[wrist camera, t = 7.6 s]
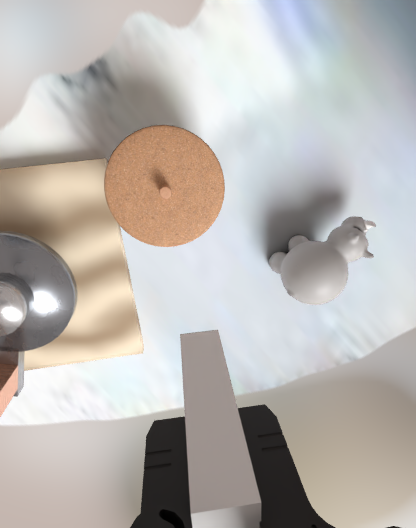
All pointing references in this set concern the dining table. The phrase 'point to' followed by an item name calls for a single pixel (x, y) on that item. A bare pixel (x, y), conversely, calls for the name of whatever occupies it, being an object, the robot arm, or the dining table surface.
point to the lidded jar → (164, 185)
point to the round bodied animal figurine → (322, 262)
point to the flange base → (76, 256)
